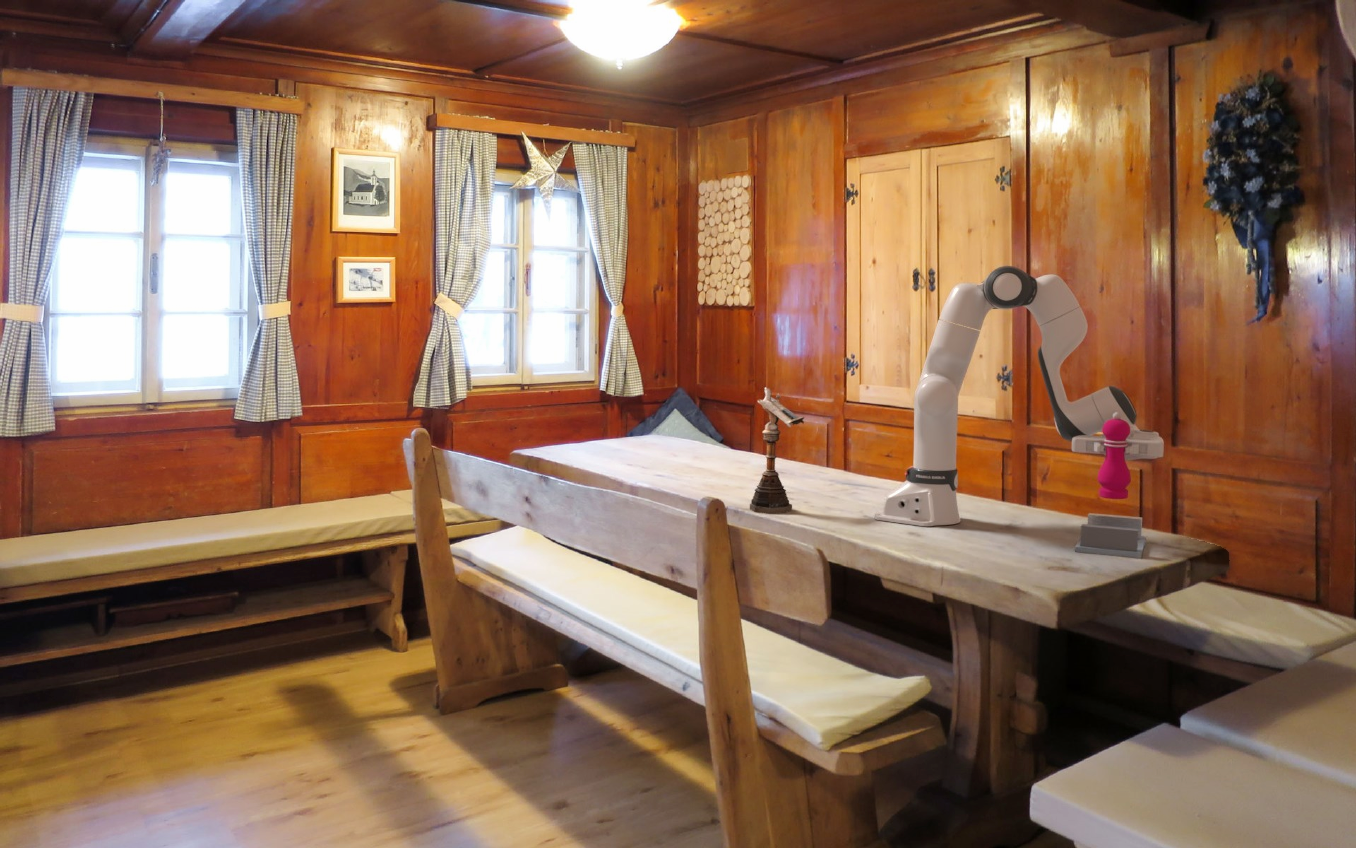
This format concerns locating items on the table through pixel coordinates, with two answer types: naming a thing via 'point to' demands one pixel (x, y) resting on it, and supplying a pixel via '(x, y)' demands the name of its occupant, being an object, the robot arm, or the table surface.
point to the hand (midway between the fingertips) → (1114, 449)
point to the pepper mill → (1115, 460)
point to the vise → (1110, 541)
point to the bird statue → (773, 460)
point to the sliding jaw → (1116, 521)
